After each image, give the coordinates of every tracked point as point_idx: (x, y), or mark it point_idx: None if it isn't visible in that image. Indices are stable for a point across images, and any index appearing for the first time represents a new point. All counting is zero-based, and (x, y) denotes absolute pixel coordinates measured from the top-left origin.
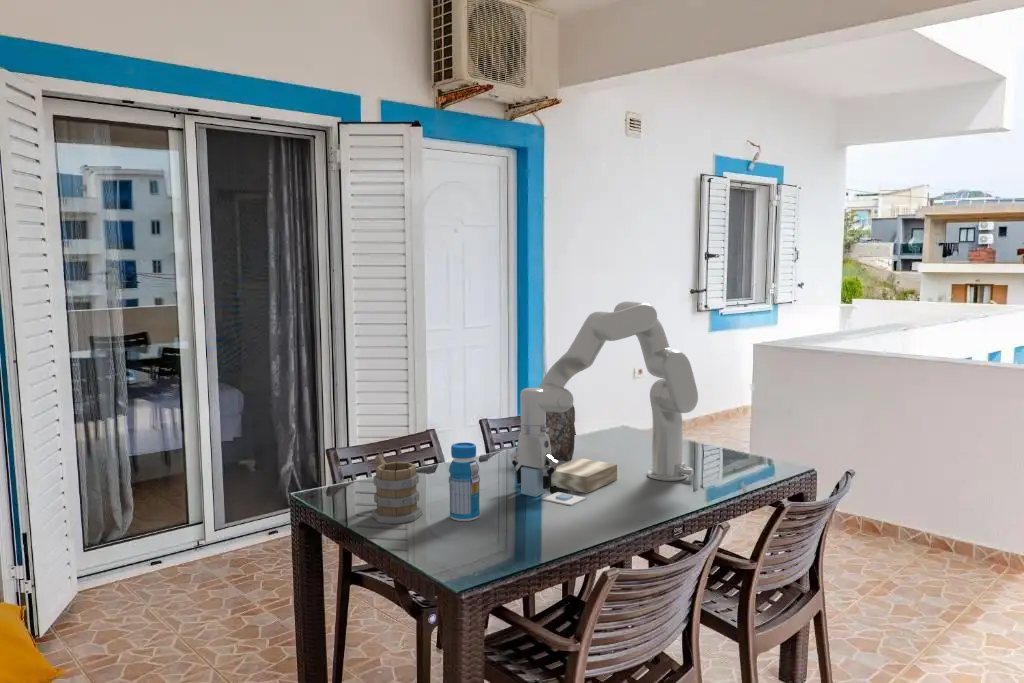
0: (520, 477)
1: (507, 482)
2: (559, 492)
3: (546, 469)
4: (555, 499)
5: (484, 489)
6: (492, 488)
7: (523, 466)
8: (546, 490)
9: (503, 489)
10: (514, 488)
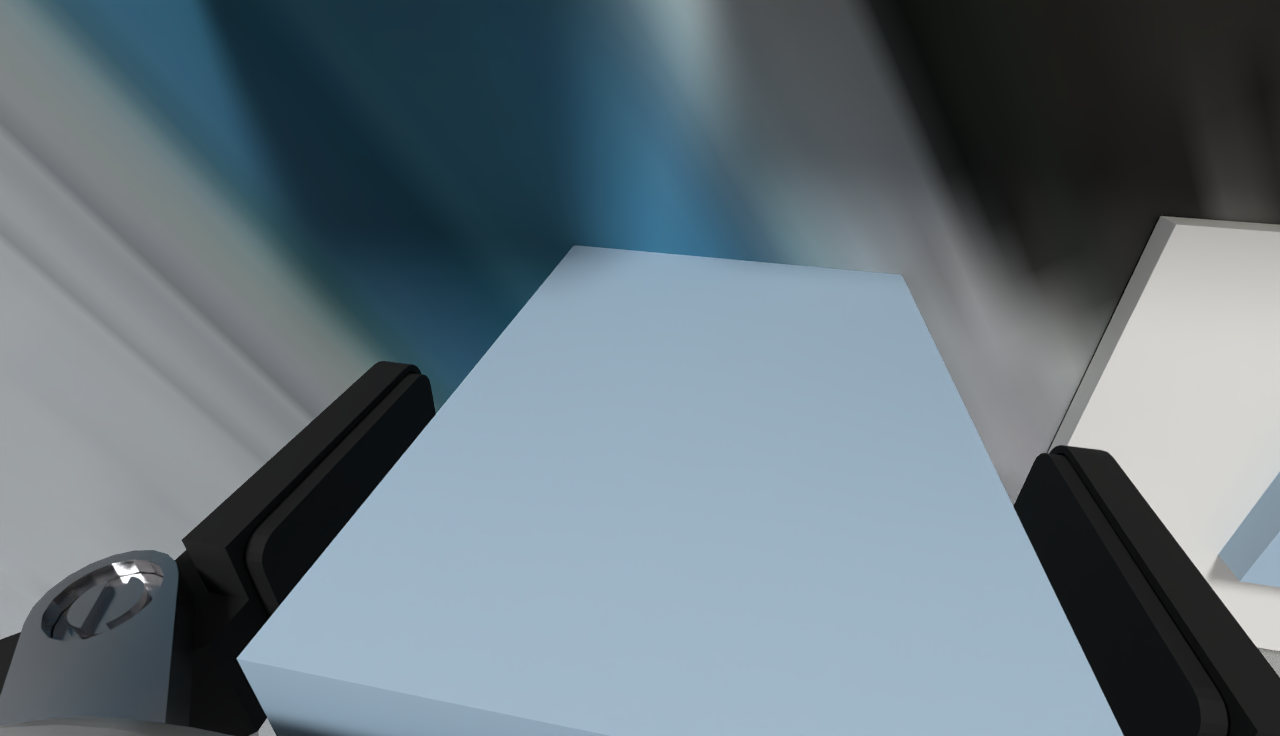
0: None
1: (15, 119)
2: (1226, 248)
3: (1097, 686)
4: (1227, 594)
5: (171, 508)
6: (183, 451)
7: (185, 676)
8: (907, 296)
9: (292, 432)
10: (347, 337)
